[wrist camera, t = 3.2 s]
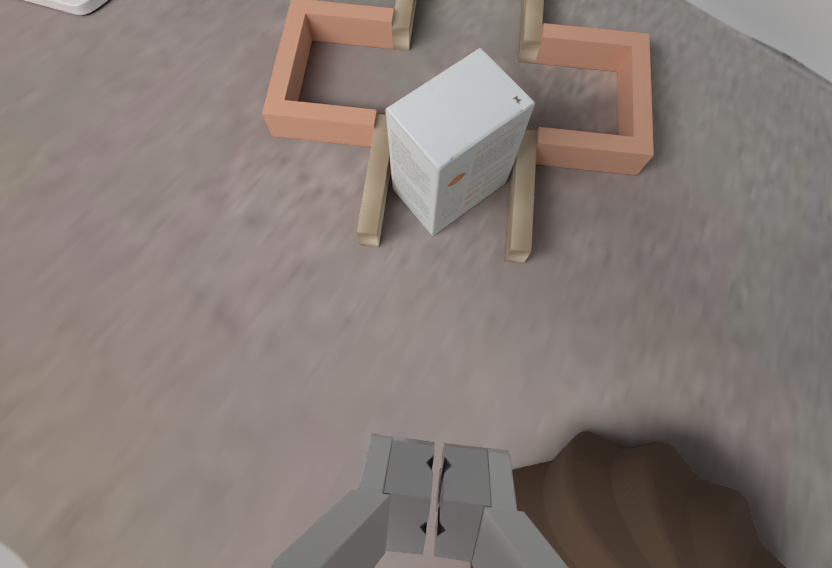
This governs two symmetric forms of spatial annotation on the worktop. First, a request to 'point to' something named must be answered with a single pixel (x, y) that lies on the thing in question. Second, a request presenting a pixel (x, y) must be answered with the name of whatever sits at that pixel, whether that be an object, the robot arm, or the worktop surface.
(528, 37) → the trap lane
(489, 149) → the small box
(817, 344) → the worktop surface
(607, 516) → the decorative dome
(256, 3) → the worktop surface
